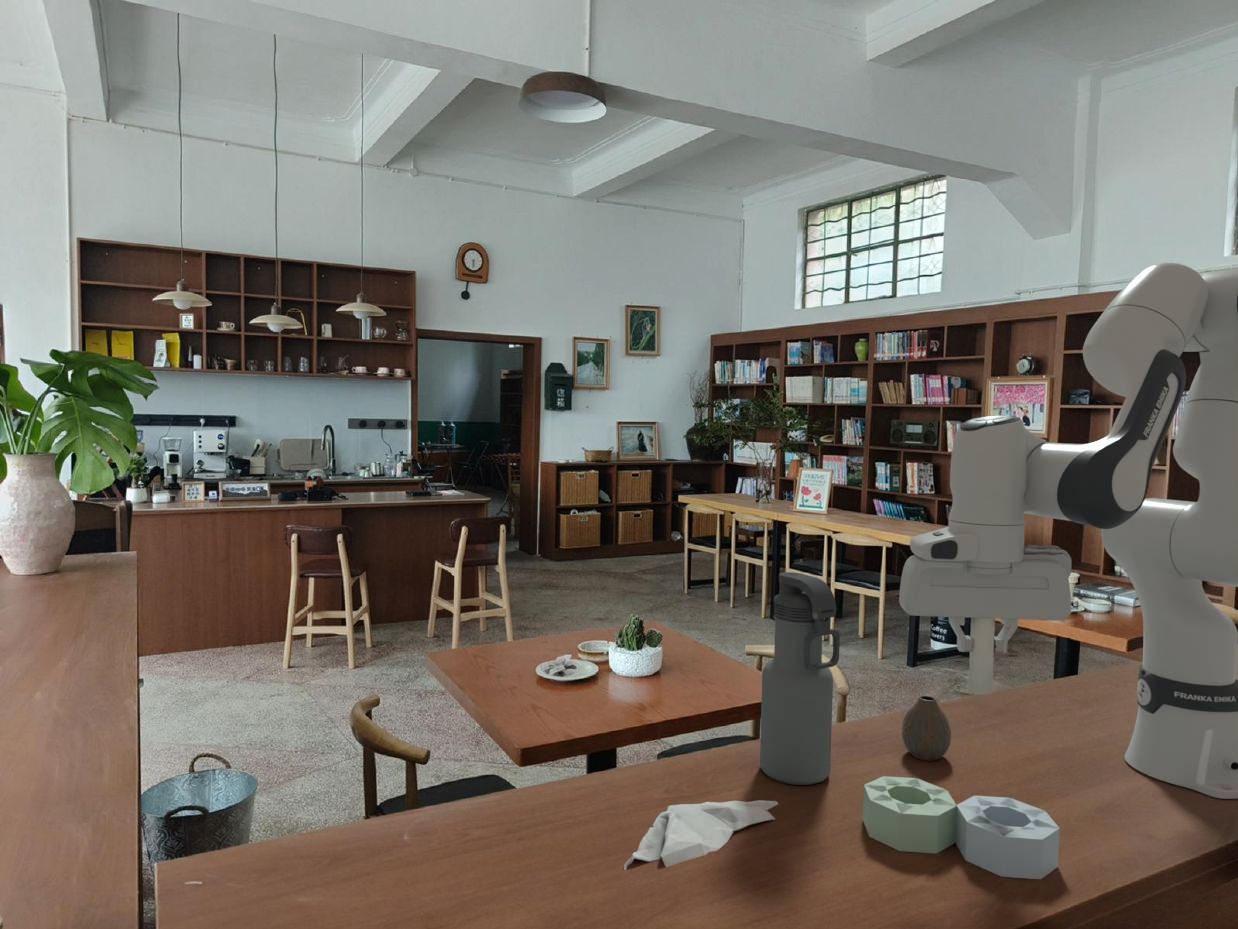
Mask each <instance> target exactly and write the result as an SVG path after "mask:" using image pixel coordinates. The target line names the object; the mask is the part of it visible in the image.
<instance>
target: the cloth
mask: <svg viewBox="0 0 1238 929" xmlns="http://www.w3.org/2000/svg"><path fill="white" fill-rule="evenodd" d="M778 805H779V803H778V801H776V800H762V799H759V800H752V801H751V800H750V801H742V800H741V801H740V800H731V801H723V802H718V801H717V802H714V801H706V802H701V803H686V804H685V803H683V804H682V803H681V804H672V805H668V806H667V809H666V811H662V812H661V813H659V815H657V817H656V819H655V820H654V823H653V824H652V826H653V827H649V829H648V830H647V832H646V834H645V835H644V836H643V837H642V839H641V841H640V843H639V845H638V849H637V851H635V852H633V853H632V855H631V857H629V858H628V860H627V861H626V862H625V863H624V864H623V870H624V871H627V868H628V866H629V865H631V864H633V862H634V860H635V859H636V860H641V861H643V862H648V863H651V862H655V861H659V860H662V862H663V864H664V867H666V868H667V867H671V866H675V865H676V864H679V863H682V862H683V863H684V862H686V861H689V860H693V859H696V858H699V857H703V856H706V855H707V854H709V853H710V852H711V853H712V852H717V851H719V850H721V849H722V848H723V847H724V846H726V845H727V843H728V842H729V841H730V839H731V838H732V835H733V834H734V832H737V831H740V830H742V829H744V828H747V827H750V826H753V825H756V824H759V823H762V822H766V821H767V822H768V821H772V820H773V821H775V820H776V818H775V817H774V816H773V815H772V814H771V812H770V811H768V810H770V809H772V808H774V807H776V806H778Z"/></svg>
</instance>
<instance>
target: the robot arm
mask: <svg viewBox="0 0 1238 929" xmlns="http://www.w3.org/2000/svg"><path fill="white" fill-rule="evenodd" d="M1183 352H1187V353H1188V352H1189V353H1191V352H1194V353H1195V352H1198V353H1199V358H1200V365H1199V367H1198V368H1197V371H1196V373H1195V375H1194V378H1193V380H1192V382H1191V385H1190V387H1189V390H1188V393H1187V396H1186V399H1185V403H1184V406H1183V410H1182V414H1181V417H1180V420H1179V425H1178V428H1177V430H1176V432H1177V433H1176V435H1175V440H1174V443H1173V446H1172V454H1173V458H1174V459H1175V462H1176V463H1177V464H1178V466H1179V467H1180V468H1181V469H1182V470H1183V471H1185V472H1186V473H1187V474H1188V475H1190V476H1192V477H1193V478H1195V479H1197V480H1198V482H1199V489H1200V490H1199V496H1198V499H1197V501H1189V500H1178V499H1167V498H1157V497H1149V498H1147V494H1148V491H1149V490H1148V489H1149V484H1150V479H1151V474H1152V470H1153V467H1154V464H1155V462H1156V459H1157V458H1158V455H1159V452H1160V450H1161V448H1162V445H1163V443H1164V441H1165V438H1166V437H1167V434H1168V432H1169V429H1170V427H1171V425H1172V421H1173V420H1174V417H1175V415H1176V413H1177V410H1178V408H1179V405H1180V402H1181V400H1182V397H1183V394H1184V391H1185V388H1186V382H1187V381H1186V380H1187V373H1186V372H1187V371H1186V367H1185V365H1184V363H1183V362H1184V361H1183V360H1182V359H1181V358H1180V357H1181V355H1182V354H1183ZM1082 356H1083V357H1082V358H1083V362H1084V366H1085V368H1086V369H1087V371H1088V373H1089V374H1090V376H1092V378H1093V379H1094V380H1095V381H1096V382H1097V383H1098V384H1100V386H1102V387H1103V388H1105V389H1106V390H1108V391H1109V392H1111V393H1113V394H1114V395H1117V396H1120V397H1124V398H1125V399H1124V401H1123V404H1122V406H1121V408H1120V410H1119V412H1118V415H1117V416H1116V418H1115V421H1114V422H1113V425H1112V427H1111V429H1110V432H1109V433H1108V434H1107V435H1106V436H1105V437H1103V438H1101V439H1099V440H1096V441H1093V442H1088V443H1063V442H1062V443H1061V442H1053V441H1051V442H1050V441H1049V442H1048V441H1047V440H1046V439H1043V438H1040V437H1039V436H1037V435H1035V434H1033V433H1032V432H1030V431H1029V430H1028V429H1027V427H1025V424H1024V422H1023V420H1022V418H1021V417H1018V416H1015V415H1006V414H1005V415H1004V414H1003V415H1002V414H998V415H990V416H986V415H985V416H980V417H974V418H971V419H968V420H965V421H964V422H963V423H961V424H960V425H959V426H958V428H957V430H956V433H955V436H954V439H953V444H952V450H951V456H950V457H951V458H950V469H949V470H950V471H949V487H950V491H951V494H952V504H951V509H950V511H949V514H948V526H945V527H943V528H939V529H936V530H935V529H934V530H932V531H929V532H926V533H925V532H924V533H921V534H917V535H915V536H913V537H911V539H910V541H909V548H910V550H911V552H912V553H913V555H911V556H909V557H908V558H907V559H906V561H905V562H904V565H903V569H902V573H901V578H900V584H899V595H898V596H899V600H898V602H899V605H900V607H901V608H902V610H903V611H904V612H905V613H907V614H908V615H909V616H911V617H912V616H913V617H914V616H915V617H918V616H919V617H943V618H946V617H947V618H948V623H949V625H950V627H951V628H952V630H953V632H954V634H955V636H956V648H957V650H958V651H959V652H961V653H965V652H966V653H968V652H969V653H970V652H972V651H973V647H972V645H973V639H972V638H970V635H965V633H964V631H963V629H962V627H961V626H965V623H966V622H965V621H966V618H970V619H971V618H995V619H1000V624H1001V625H1003V627H1002V628H1001V630H1000V631H999V633H998V634H997V636H995V635H994V654H1007V653H1008V644H1009V643H1008V641H1009V640H1010V639H1012V638H1011V637H1013V635H1014V634H1015V632H1016V631H1017V629H1018V628H1019V620H1032V621H1033V620H1034V621H1035V620H1036V621H1061V622H1062V621H1065V620H1066V619H1068V617H1069V616H1070V615H1071V613H1072V596H1071V587H1070V586H1071V585H1070V579H1069V577H1070V576H1071V574H1072V558H1071V555H1070V554H1069V553H1068V552H1067V550H1064V549H1062V548H1061V547H1060V546H1058V545H1046V546H1045V545H1036V544H1025V532H1026V531H1025V530H1026V529H1025V528H1026V526H1025V524H1026V520H1025V515H1032V516H1039V517H1042V518H1048V519H1055V520H1062V521H1067V522H1073V523H1076V524H1081V525H1084V526H1089V527H1093V528H1097V529H1100V531H1101V532H1100V534H1101V536H1100V537H1101V541H1102V545H1103V547H1104V549H1105V551H1106V553H1107V554H1108V555H1109V556H1110V557H1111V558H1112V560H1114V561H1115V562H1116V563H1117V564H1118V565H1119V566H1120V567H1121V569H1122V570H1123V571H1124V572H1125V574H1126V575H1127V577H1128V578H1129V581H1130V582H1131V584H1132V586H1133V588H1134V591H1135V594H1136V595H1137V599H1138V601H1139V604H1140V609H1141V616H1142V626H1143V627H1142V629H1143V631H1142V632H1143V638H1142V639H1143V644H1142V646H1143V647H1142V648H1143V649H1142V652H1143V653H1142V664H1141V665H1140V666H1138V676H1137V677H1138V678H1137V688H1136V697H1137V705H1138V710H1137V715H1136V719H1135V720H1136V721H1135V725H1134V728H1133V731H1132V732H1133V733H1132V736H1131V739H1130V742H1129V744H1128V747H1127V749H1126V752H1125V753H1124V760H1125V761H1126V763H1127V764H1128V765H1130V767H1132V768H1134V769H1135V770H1136V771H1139V772H1141V773H1142V774H1145V775H1147V776H1149V777H1150V778H1151V777H1152V778H1154V779H1156V780H1159V781H1163V782H1166V783H1169V784H1172V785H1176V786H1181V787H1184V788H1188V789H1190V790H1191V789H1192V790H1193V791H1196V792H1199V793H1201V794H1204V795H1207V796H1210V797H1213V798H1217V799H1222V800H1223V799H1226V800H1227V799H1231V800H1232V799H1238V679H1237V678H1236V674H1237V661H1238V660H1237V659H1238V658H1237V656H1238V629H1237V626H1236V625H1235V622H1234V621H1233V619H1232V618H1231V617H1230V616H1229V615H1228V614H1227V613H1226V612H1224V611H1223V610H1221V609H1220V608H1218V607H1217V606H1216V605H1215V604H1214V603H1213V602H1212V601H1211V600H1210V598H1209V597H1208V595H1207V594H1206V592H1205V590H1204V588H1203V585H1202V581H1203V582H1209V583H1214V584H1220V585H1224V586H1225V585H1226V586H1229V587H1230V586H1231V587H1237V588H1238V267H1235V268H1227V269H1226V268H1225V269H1219V270H1212V271H1208V272H1206V273H1203V274H1200V273H1199V272H1198V271H1196V270H1194V269H1193V268H1192V267H1189V266H1187V265H1184V264H1181V263H1176V262H1161V263H1157V264H1154V265H1151V266H1149V267H1146V268H1145V269H1144V270H1142V271H1141V272H1139V273H1138V274H1137V275H1136V276H1135V277H1134V278H1133V279H1132V280H1130V282H1128V283H1127V284H1126V285H1125V286H1124V287H1123V288H1122V289H1121V291H1119V292H1118V293H1117V295H1116V296H1115V297H1114V298H1113V299H1112V300H1111V301H1110V302H1109V304H1108V305H1107V307H1105V308H1104V310H1103V312H1102V313H1101V314H1100V316H1099V317H1098V319H1097V320H1096V322H1094V324H1093V326H1092V327H1091V329H1090V330H1089V332H1088V333H1087V336H1086V338H1085V341H1084V343H1083V347H1082ZM1024 514H1025V515H1024Z"/></svg>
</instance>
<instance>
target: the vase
mask: <svg viewBox="0 0 1238 929" xmlns="http://www.w3.org/2000/svg"><path fill="white" fill-rule="evenodd" d="M901 737H902V741H903V744H904V746H905V749H906V750H907V751H908V752H909V753H910V754H911V755H912V756H913V757H914V758H917V759H919V760H921V761H929V762H930V761H931V762H932V761H937V760H940V759H941V758H942V757H943V756H945V755H946V753H947V752H948V750H949V748H950V745H951V741H952V729H951V724H950V721H949V719H948V716H947V715H946V713H945V712H944V711H943V709H942V708H941V707H940V705H939V704H938V701H937V698H936V697H933V696H931V695H919V696H918V698H917V700H916V702H915V703H914V704H913V705H912V706H911V707H910V708H909V709H908V711H906V713H905V715H904V717H903V721H902V725H901Z"/></svg>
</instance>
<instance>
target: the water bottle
mask: <svg viewBox="0 0 1238 929" xmlns="http://www.w3.org/2000/svg"><path fill="white" fill-rule="evenodd" d="M778 582H779V583H780V593H778V594H776V595H775V596H774V598H773V602H774V613H773V616H772V617H773V619H774V621H775V622H774V623H775V624H774V650H773V651H774V657H773V658H772V659H770V660H769V661H767V662H766V663H765V666H764V667H763V668H762V673H761V706H760V707H761V708H760V710H761V711H760V713H761V714H760V748H759V750H760V752H759V753H760V754H759V765H760V768H761V770H762V771H763V773H764V774H765V775H766V776H768V777H769V778H771V779H773V780H775V781H777V782H781V783H784V784H787V785H793V786H794V785H796V786H807V785H808V786H809V785H815V784H818V783H821V782H823V781H824V780H826V779H827V778H828V776H829V775H830V772H831V760H832V754H831V753H832V731H833V730H832V727H833V724H832V723H833V722H832V721H833V697H834V696H833V694H834V693H833V691H834V688H833V687H834V676H833V673H832V671H831V669H830V668H832V667H835V666H836V665H837V664H838V662H839V659H840V642H841V641H840V639H841V638H840V632H839V631H838V630H836V629H833V628H831V618H835V617H836V616H837V602H836V599H835V596H834V593H833V591H832V589H831V588H830V586H829V585H828V584H827V582H825V581H824V580H822V579H820V578H819V577H816V576H811V575H809V574H803V573H802V572H801V573H799V572H793V571H792V572H788V571H787V572H786V571H785V572H784V571H783V572H779V574H778ZM828 635H831V636H832V640H833V642H832V646H833V647H832V657H831V659H829V661H827V662H823V660H822V658H823V657H822V656H823V636H828Z"/></svg>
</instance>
